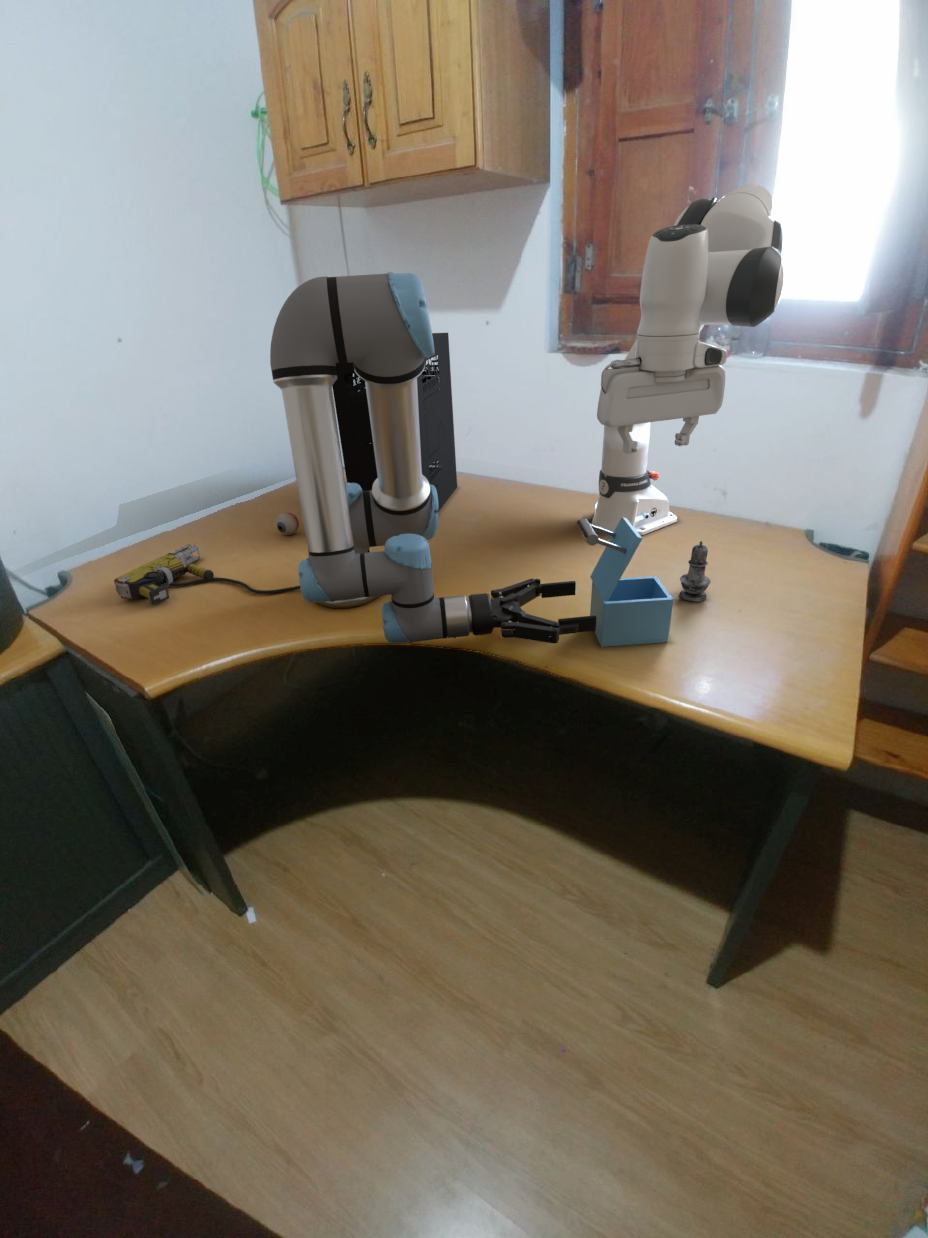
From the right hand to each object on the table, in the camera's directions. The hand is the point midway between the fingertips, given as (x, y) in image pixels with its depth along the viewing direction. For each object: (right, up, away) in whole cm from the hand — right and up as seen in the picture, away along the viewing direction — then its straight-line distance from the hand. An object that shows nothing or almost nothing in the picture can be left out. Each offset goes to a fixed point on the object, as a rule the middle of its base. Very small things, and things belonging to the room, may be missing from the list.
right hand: (655, 448), depth 96 cm
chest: (0, -30, +17) cm, 34 cm away
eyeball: (-79, -4, +69) cm, 105 cm away
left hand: (-9, -25, +14) cm, 29 cm away
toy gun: (-98, -19, +46) cm, 109 cm away
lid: (-4, -17, +9) cm, 20 cm away
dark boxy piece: (-47, +6, +84) cm, 96 cm away
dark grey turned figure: (+16, -23, +27) cm, 39 cm away
